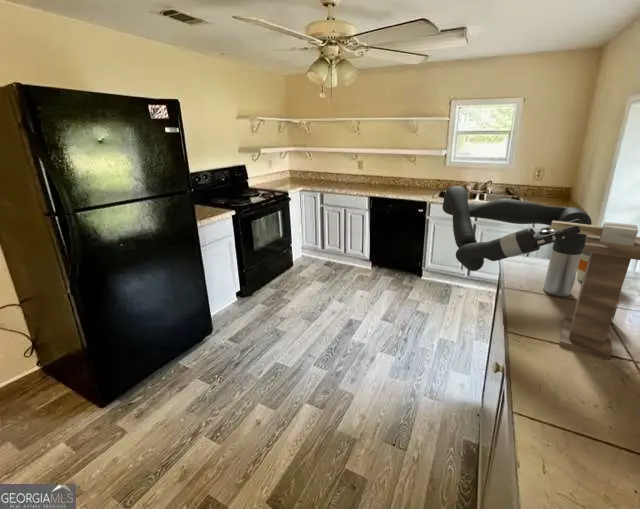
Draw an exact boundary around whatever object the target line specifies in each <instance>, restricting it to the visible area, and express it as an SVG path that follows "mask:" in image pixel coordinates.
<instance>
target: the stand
mask: <svg viewBox="0 0 640 509" xmlns="http://www.w3.org/2000/svg"><path fill="white" fill-rule="evenodd" d="M584 252H590V256H589V260H588V263H587V267H586V270H585V274H584V278H583V281H582V282H581V286H580V288H579V292H578V296H577V300H576V304H575V307H574V311H573V314H572V316H569V315H565V316H564V318H563V323H562V328H561V332H560V337H559V338H560V339H559V343H558V345H559V346H560V347H563V348H567V349H571V350H573V351H577V352H581V353H584V354H587V355H591V356H594V357H598V358H601V359H605V360H607V361H610V360H611V357H612V339H611V333H612V332H611V326H610V325H611V323H610V322H611V319H612V316H613V313H614V310H615V307H616V304H617V301H618V298H619V299H620V294H621V291H622V288H623V285H624V282H625V279H626V276H627V274H628V270H629V267H630V263H631V260H635V261H640V236H636V240H635V243H634V246H627V245H620V244H613V243H606V242H600V236H592V235H586V240H585V247H584Z"/></svg>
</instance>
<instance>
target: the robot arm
mask: <svg viewBox="0 0 640 509" xmlns="http://www.w3.org/2000/svg"><path fill="white" fill-rule="evenodd" d="M442 201H443V202H442V211H443V212H444V213H446V214H448V215H451V216H452V229H453V230H452V231H453V236H454V241H455V244H456V247H457V250H456V252H455V258H456V260H457V261H458V262H459V263H460V264H461V265H462V266H463V267H464V268H465V269H467V270H469V271H470V272H476V271H479V270H481V269H482V268H483V267H484V264H485V259H486V260H489V261H490V262H497V261H501V260H505V259H509V258H513V257H520V256H522V255H525V254H530V253H533V252H536V251H539V250H540V248H541V247H543V246H545V245H549V244H552V243H553V245H552V248H551V249H552V250H551V253H550V257H549V262H548V266H547V270H546V271H547V272H546V276H545V279H544V283H543V288H542V289H543V290H544V292H545V293H548V294H550V295H553V296H558V297H568V296H571V295H572V290H573V288H574V284H575V281H576V278H577V269H578V266H579V262H580V258H581V254H582V250H583V248H584V247H585V240H586V235H585V234H577V233H580V229H579V226H578V225H575V226H572V227H568V228H565V229H562V230H563V231H562V230H555V229H552V230H550V228H551V224H552V221H561V222H570V223H578V224H587V225H593V224H592V222H593V221H592V219H591V216H590V215H589V214H588V213H587V212H586V211H585V210H583V209H581V208H579V207H571V206H570V207H569V206H553V205H544V204H540V203H534V202H530V201H525V200H519V199H513V198H498V199H495V200H490V201H488V202H484V203H483V202H482V203H472V202H471V203H470V202H469V194H468V191H467V189H466V188H465V187H463V186H460V185H452V186H449V187H448V188H447V189H446V191H445V192H444V196H443V200H442ZM472 218H476V219H477V218H478V219H484V220H491V221H496V222H497V221H498V222H503V223H507V224H516V225H534V224H536V225H537V224H538V225H545V227H542V228H541V229H540V230H539V231H537V232H536V231H535V230H534V229H533V228H532V227H528V228H524V229H521V230H518V231H516V232H511V233H509V234H507V235H504V236H502V237H498V238H495V239H493V240H490V241H479V242H477V239H476V235H475V232H474V227H473V224H472Z"/></svg>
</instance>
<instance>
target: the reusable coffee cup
mask: <svg viewBox="0 0 640 509" xmlns="http://www.w3.org/2000/svg"><path fill="white" fill-rule="evenodd" d="M589 256H590V252H584V248H583V250H582V254H581V258H580V262H579V266H578V269H577V273H576V280H577V281H579V280H580V281H579V282H581V281H583V278H584V274H585V270H586V267H587V263H588V260H589Z"/></svg>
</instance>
